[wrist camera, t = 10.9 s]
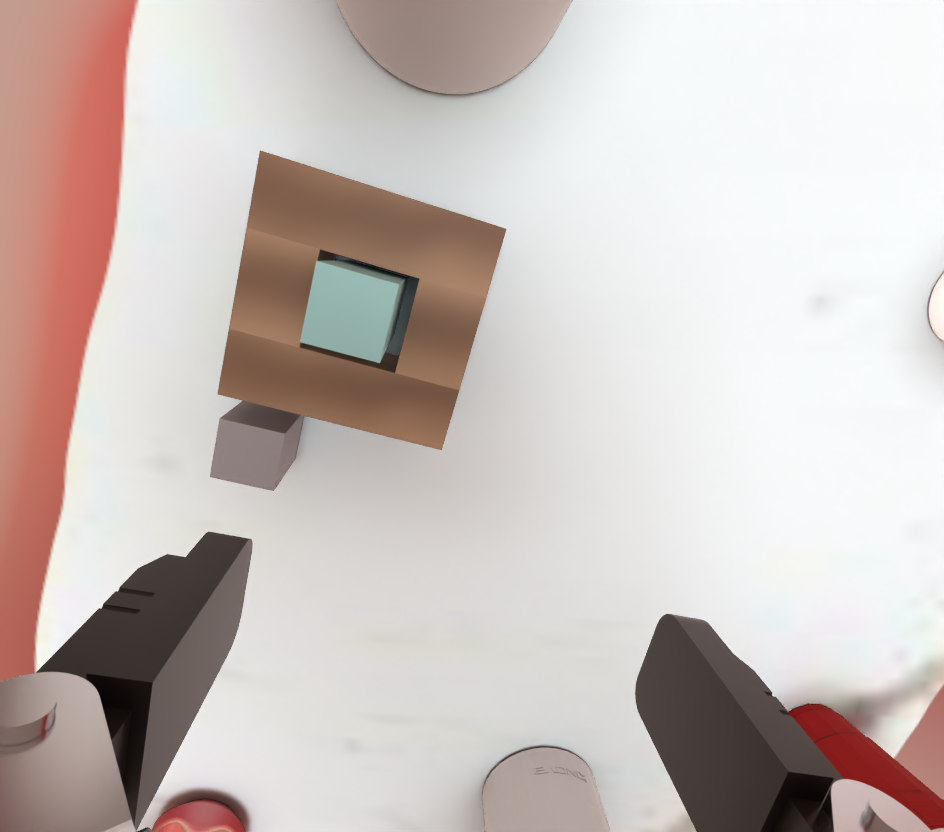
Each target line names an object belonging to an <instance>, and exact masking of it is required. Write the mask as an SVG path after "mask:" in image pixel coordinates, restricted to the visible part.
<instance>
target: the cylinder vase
mask: <svg viewBox="0 0 944 832" xmlns="http://www.w3.org/2000/svg"><path fill="white" fill-rule="evenodd" d="M336 2H337V5H338V7H339V9H340V11H341V13H342V15H343V17H344V19H345V21H346V23H347V25H348V27H349V28H350V30H351V31H352V33H353V34H354V36H355V37H356V39H357V40H358V41H359V43H360V44H361V45H362V47H363V48H364V49H365V50H366V51H367V52H368V53H369V54H370V56H371V57H372V58H373V59H374V60H376V61H377V62H378V63H379V64H380V65H381V66H382V67H384V68H385V69H386V70H387V71H389V72H390V73H392V74H393V75H395V76H396V77H398V78H399V79H401V80H403V81H405V82H407V83H409V84H411V85H413V86H416V87H418V88H421V89H424V90H428V91H432V92H437V93H443V94H468V93H475V92H479V91H483V90H486V89H490V88H492V87H495V86H497V85H499V84H502V83H504V82H505V81H507V80H509V79H511V78H512V77H514V76H515V75H517V74H518V73H519V72H521V71H522V70H523V69H525V68H526V67H527V66H528V65H529V64H530V63H531V62H532V61H533V60H534V59H535V58H536V57H537V56H538V55H539V54H540V53H541V51H542V50H543V49H544V48H545V46H546V45H547V44H548V42H549V41H550V39H551V38H552V36H553V34H554V33H555V31H556V29H557V27H558V26H559V24H560V22H561V20H562V18H563V17H564V15H565V13H566V11H567V9H568V8H569V6H570V4H571V2H572V0H336Z"/></svg>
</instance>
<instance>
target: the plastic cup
mask: <svg viewBox="0 0 944 832" xmlns="http://www.w3.org/2000/svg"><path fill="white" fill-rule="evenodd" d="M788 715H789V716H792V717H793V718H794V719H795V721H796V722H797V723H798V724H799V725H800V727H801V728H802V729H803V730H804V731H805V733H806V734H807V735H808V736H809V737H810V739H811V740H812V741H813V742H814V743H815V745H816V746H817V747H818V748H819V749H820V751H821V752H822V753H823V754H824V755H825V757H826V758H827V759H828V760H829V761H830V763H831V764H832V765H833V766H834V767H835V769H836V770H837V771H838V772H839V773H840V775H841V776H842V777H843V778H844V779H849V780H855V781H858V782H861V783H864V784H867V785H869V786H872V787H874V788H876V789H878V790H880V791H882V792H883V793H885V794H887V795H888V796H890V797H892V798H893V799H895V800H896V801H898V802H899V803H900V804H902V805H903V806H904V807H906V808H907V809H908V810H910V811H911V812H912V813H913V814H914V815H916V816H917V817H918V818H919V819H920V820H921V821H922V822H923V823H924V824H925V825H926V826H927V827H928V828H929V829H930V830H931V831H932V832H944V800H942V799H941V798H939V797H938V796H937V795H936V794H935V793H934V792H932V791H931V790H930V789H929V788H928V787H926V786H925V785H924V784H923V783H922V782H921V781H919V780H918V779H917V778H916V777H915V776H914V775H912V774H911V773H910V772H909V771H908V770H906V769H905V768H904V767H903V766H902V765H900V764H899V763H898V762H897V761H896V760H895V759H893V758H892V757H891V756H890V755H889V754H888V753H886V752H885V751H884V750H883V749H882V748H881V747H879V746H878V745H877V744H876V743H875V742H873V741H872V740H871V739H870V738H868V737H866V736H864V735H863V734H862V733H861V732H860V731H858V730H857V729H856V728H855V727H854V726H852V725H851V724H850V723H849V722H848V721H847V720H845V719H844V718H843V717H842V716H841V715H839V714H838V713H836V712H834V711H833V710H832V709H830V708H827V707H825V706H823V705H805V706H802V707H799V708H796V709H793V710H792V711H791V712H789V713H788Z"/></svg>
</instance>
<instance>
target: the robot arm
mask: <svg viewBox="0 0 944 832" xmlns="http://www.w3.org/2000/svg"><path fill="white" fill-rule="evenodd" d="M251 554H252V540H251V539H247V538H242V537H236V536H230V535H225V534H219V533H213V532H207V533H206V534H205V535H204V536H203V537H202V538H201V540H200V541H199V542H198V543H197V544H196V546H195V547H194V548H193V549H192V550H191V551H190V553H189V554H188V555H187V556H186V557H180V556H174V555H168V554H167V555H165V556H163V557H160V558H158V559H156V560H154V561H152V562H150V563H148V564H146V565H144V566H142V567H140V568H138V569H137V570H136V571H135V572H134V573H133V574H132V575H131V576H130V577H129V578H128V579H127V580H126V581H125V582H124V584H123V585H122V586H121V587H120V588H119V591H118V592H115V593H114V594H113V595H112V596H111V597H110V598H109V599H108V600H107V601H106V602H105V603H104V604H103V607H102V609H100V608H99V609H98V610H97V611H96V612H95V613H94V614H93V615H92V616H91V617H90V618H89V619H88V620H87V621H86V622H85V623H84V624H83V625H82V626H81V627H80V628H79V629H78V630H77V631H76V632H75V633H74V635H73V636H72V637H71V638H70V639H69V640H68V641H67V642H66V643H65V644H64V645H63V646H62V647H61V648H60V649H59V650H58V651H57V652H56V653H55V654H54V655H53V656H52V657H51V658H50V659H49V660H48V661H47V662H46V663H45V664H44V665H43V666H42V667H41V668H40V669H39V670H38V671H37V672H36V673H31V674H26V675H21V676H17V677H13V678H10V679H6V680H3V681H1V682H0V832H137V831H136V830H137V828H138V826H139V824H140V822H141V820H142V819H143V817H144V815H145V813H146V811H147V809H148V807H149V805H150V803H151V801H152V799H153V797H154V795H155V794H156V792H157V790H158V788H159V786H160V784H161V782H162V780H163V778H164V776H165V774H166V772H167V770H168V769H169V767H170V765H171V763H172V761H173V759H174V757H175V755H176V753H177V751H178V749H179V747H180V746H181V744H182V742H183V740H184V738H185V736H186V734H187V732H188V730H189V728H190V726H191V724H192V722H193V721H194V719H195V717H196V715H197V713H198V711H199V709H200V707H201V705H202V703H203V701H204V699H205V697H206V696H207V694H208V692H209V690H210V688H211V686H212V684H213V682H214V680H215V678H216V676H217V674H218V673H219V671H220V669H221V667H222V665H223V663H224V661H225V659H226V657H227V655H228V653H229V651H230V649H231V647H232V644H233V642H234V639H235V636H236V633H237V630H238V626H239V622H240V618H241V613H242V607H243V601H244V595H245V589H246V583H247V578H248V572H249V566H250V560H251ZM635 695H636V704H637V709H638V712H639V714H640V716H641V719H642V721H643V723H644V725H645V727H646V729H647V731H648V733H649V735H650V737H651V739H652V741H653V743H654V745H655V747H656V749H657V751H658V753H659V755H660V757H661V759H662V761H663V763H664V766H665V768H666V770H667V772H668V774H669V776H670V778H671V780H672V782H673V784H674V786H675V788H676V790H677V792H678V794H679V796H680V798H681V800H682V802H683V804H684V806H685V808H686V810H687V812H688V815H689V817H690V819H691V821H692V823H693V825H694V827H695V829H696V831H697V832H932V831H931V830H930V829H929V828H928V827H927V826H926V825H925V824H924V823H923V822H922V821H921V820H920V819H919V818H918V817H917V816H916V815H914V814H913V813H912V812H911V811H910V810H908V809H907V808H906V807H904V806H903V805H902V804H900V803H899V802H898V801H896V800H895V799H893V798H892V797H890V796H888V795H887V794H885V793H883V792H882V791H880V790H878V789H876V788H874V787H872V786H869V785H867V784H864V783H861V782H858V781H855V780H849V779H844V778H843V777H842V776H841V775H840V773H839V772H838V771H837V770H836V769H835V767H834V766H833V765H832V764H831V763H830V761H829V760H828V759H827V758H826V757H825V755H824V754H823V753H822V752H821V751H820V749H819V748H818V747H817V746H816V745H815V743H814V742H813V741H812V740H811V739H810V737H809V736H808V735H807V734H806V733H805V731H804V730H803V729H802V728H801V727H800V725H799V724H798V723H797V722H796V721H795V719H794V718H793V717H792V716H789V715H788V714H787V710H786V709H785V707H784V706H783V705H782V704H781V703H780V701H779V700H778V699H777V698H776V697H773V696H772V692H771V691H770V689H769V688H768V687H767V686H766V685H765V683H764V682H763V681H762V680H761V679H760V677H759V676H758V675H757V674H756V673H755V671H754V670H752V669H751V668H750V667H749V666H748V665H746V664H745V663H744V662H743V661H741V660H740V659H739V658H738V657H736V656H735V655H734V654H733V653H732V652H731V651H730V649H729V648H728V647H727V646H726V644H725V643H724V642H723V641H722V640H721V638H720V637H719V636H718V635H717V633H716V632H715V631H714V630H713V629H712V627H711V626H710V625H709V624H708V623H707V622H706V621H704V620H700V619H695V618H689V617H683V616H678V615H672V614H666V615H664V616H662V618H661V619H660V620H659V622H658V624H657V627H656V629H655V632H654V635H653V637H652V640H651V643H650V645H649V648H648V651H647V653H646V656H645V659H644V661H643V664H642V667H641V670H640V672H639V675H638V678H637V682H636V691H635ZM482 801H483V812H484V822H485V832H610V828H609V825H608V822H607V818H606V815H605V812H604V809H603V806H602V803H601V800H600V797H599V793H598V790H597V787H596V784H595V781H594V778H593V775H592V772H591V770H590V769H589V767H588V766H587V764H586V763H585V762H584V761H583V760H581V759H580V758H579V757H578V756H576V755H574V754H572V753H570V752H568V751H565V750H561V749H557V748H534V749H530V750H526V751H522V752H519V753H517V754H515V755H513V756H510V757H509V758H507V759H506V760H504V761H503V762H501V763H500V764H499V765H498V766H497V767H496V768H495V769H494V770H493V771H492V772H491V774H490V775H489V777H488V778H487V780H486V782H485V785H484V788H483V795H482ZM138 832H153V831H152V830H151V829H150V828H144V829H142V830H140V831H138Z"/></svg>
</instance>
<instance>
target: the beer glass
mask: <svg viewBox="0 0 944 832" xmlns="http://www.w3.org/2000/svg"><path fill="white" fill-rule="evenodd" d="M929 321H930V324H931V327H932V329H933V331H934V333H935V334H936V335H937V336H938V337H939V338H940V339H941V340H942V341H944V273H943V275H942V276H941V277H940V279H939V280H938V282H937V283H936V285H935V287H934V289H933V292H932V294H931V297H930V302H929Z"/></svg>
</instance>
